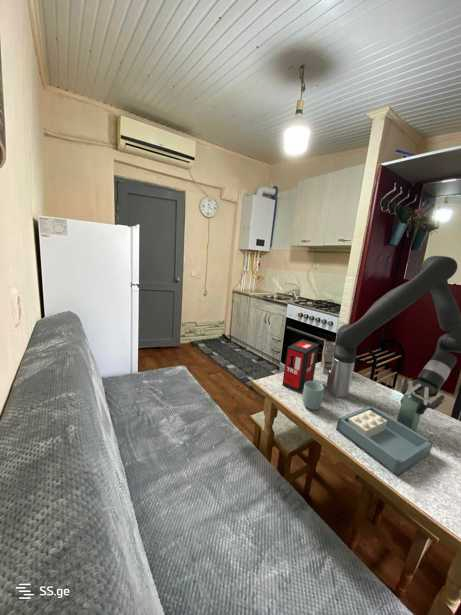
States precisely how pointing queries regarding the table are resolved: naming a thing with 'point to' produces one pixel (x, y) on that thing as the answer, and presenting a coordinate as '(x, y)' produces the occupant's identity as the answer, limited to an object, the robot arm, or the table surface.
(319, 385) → the cup
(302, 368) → the cleaning product box
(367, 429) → the egg carton
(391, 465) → the tray
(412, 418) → the tea tin
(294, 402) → the table surface
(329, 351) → the coffee box
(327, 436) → the table surface
